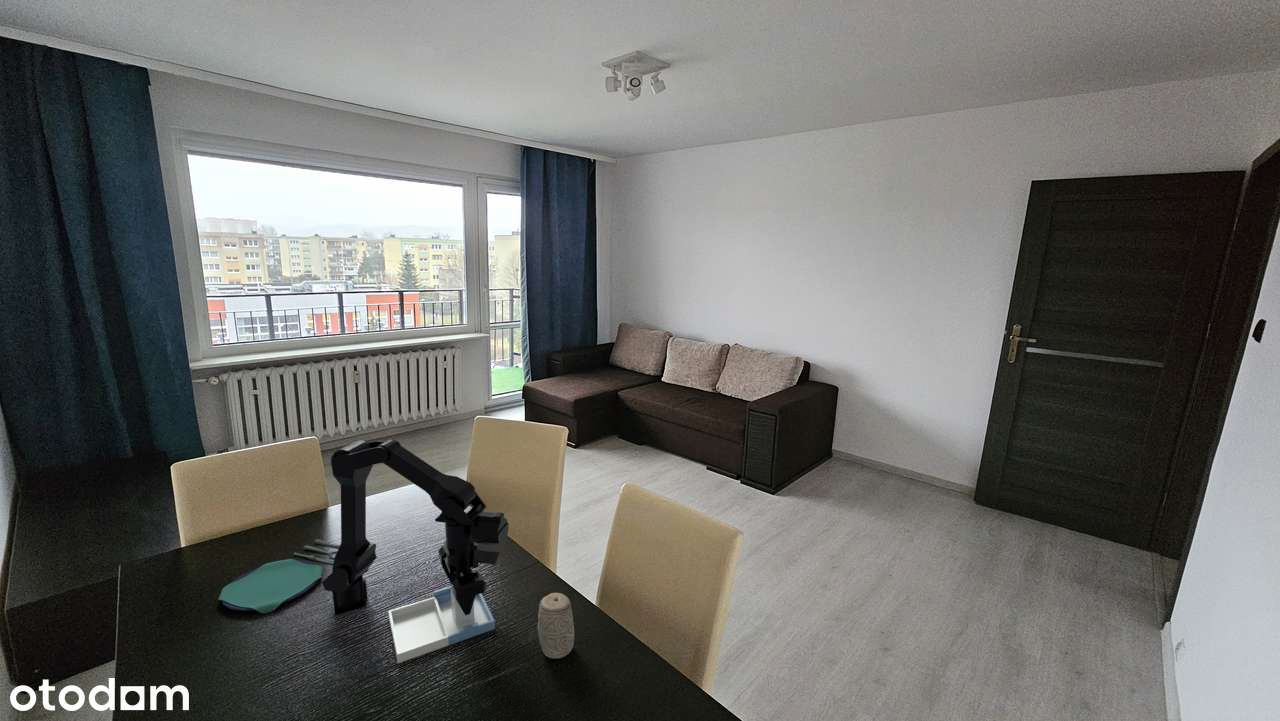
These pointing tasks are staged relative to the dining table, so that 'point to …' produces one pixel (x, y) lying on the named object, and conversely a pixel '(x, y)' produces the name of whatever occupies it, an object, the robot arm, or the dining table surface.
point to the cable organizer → (434, 625)
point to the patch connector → (460, 611)
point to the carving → (556, 625)
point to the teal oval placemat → (274, 583)
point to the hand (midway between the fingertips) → (462, 602)
